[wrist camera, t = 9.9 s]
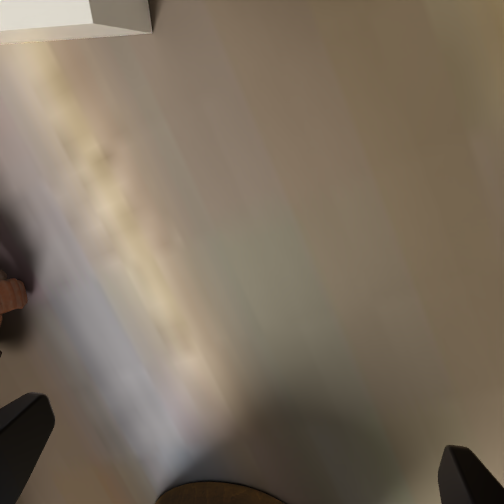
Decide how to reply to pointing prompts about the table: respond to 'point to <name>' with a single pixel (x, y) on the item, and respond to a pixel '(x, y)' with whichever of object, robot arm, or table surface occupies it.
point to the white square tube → (71, 19)
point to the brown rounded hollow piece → (11, 295)
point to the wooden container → (215, 494)
